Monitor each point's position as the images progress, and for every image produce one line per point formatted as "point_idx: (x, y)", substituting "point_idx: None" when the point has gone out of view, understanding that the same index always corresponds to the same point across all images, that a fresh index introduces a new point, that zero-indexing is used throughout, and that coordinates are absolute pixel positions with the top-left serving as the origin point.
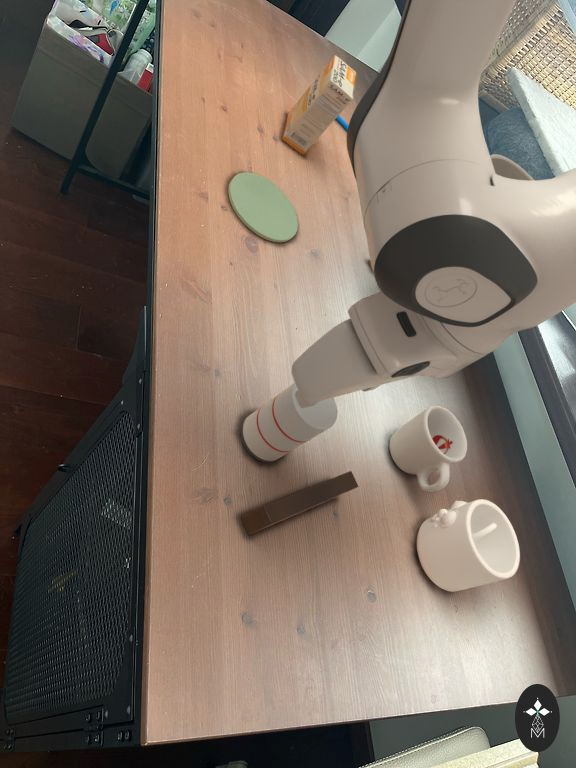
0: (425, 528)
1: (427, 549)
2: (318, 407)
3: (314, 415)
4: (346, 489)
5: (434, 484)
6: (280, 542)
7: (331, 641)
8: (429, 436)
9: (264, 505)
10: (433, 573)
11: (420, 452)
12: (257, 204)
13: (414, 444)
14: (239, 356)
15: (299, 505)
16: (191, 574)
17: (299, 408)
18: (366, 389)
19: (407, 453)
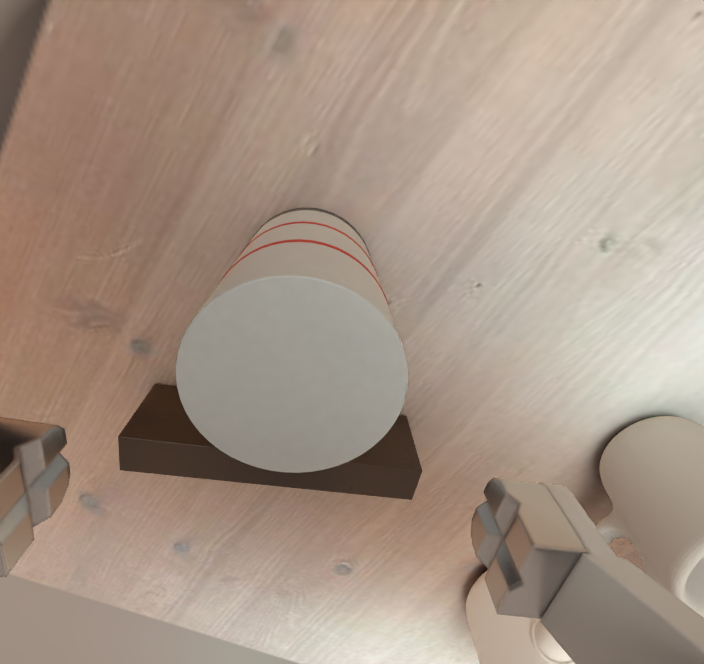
0: None
1: (487, 601)
2: (295, 404)
3: (255, 419)
4: (373, 492)
5: None
6: None
7: (226, 576)
8: (696, 557)
9: (119, 437)
10: (468, 617)
11: (645, 530)
12: None
13: (653, 508)
14: (399, 20)
15: (218, 471)
16: (3, 413)
17: (195, 377)
18: (478, 549)
19: (626, 490)
